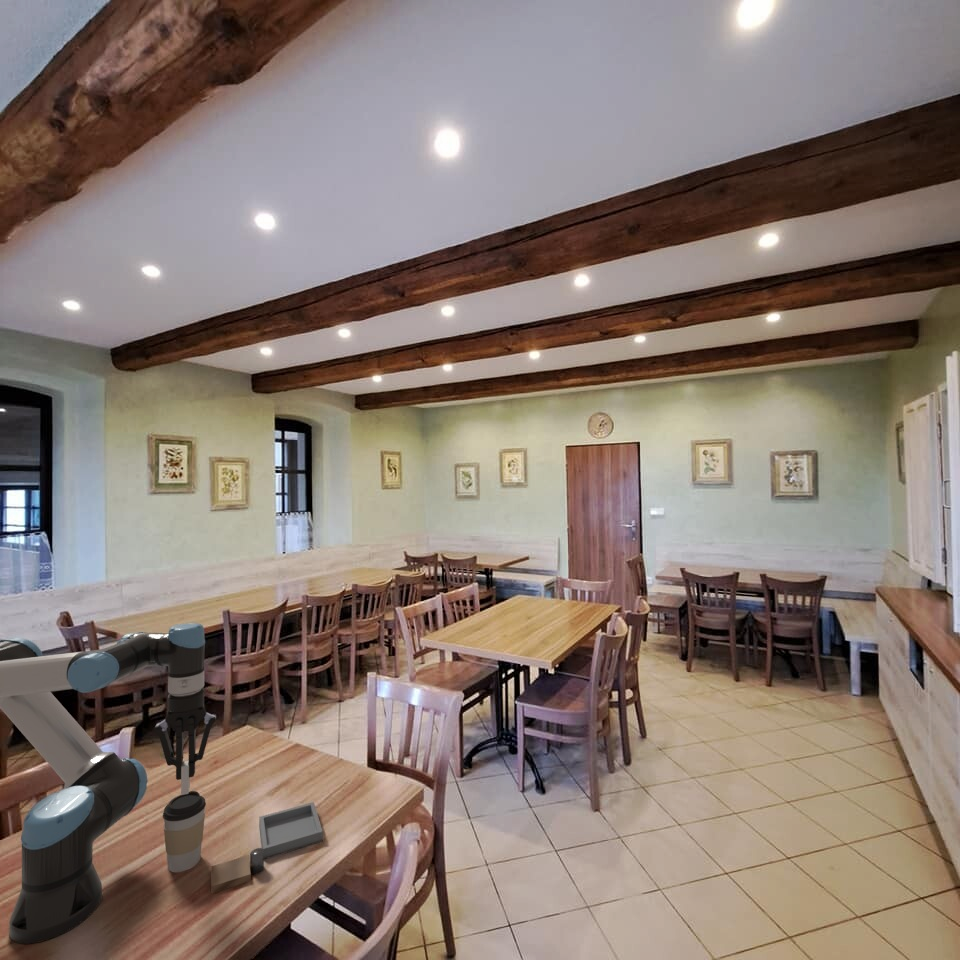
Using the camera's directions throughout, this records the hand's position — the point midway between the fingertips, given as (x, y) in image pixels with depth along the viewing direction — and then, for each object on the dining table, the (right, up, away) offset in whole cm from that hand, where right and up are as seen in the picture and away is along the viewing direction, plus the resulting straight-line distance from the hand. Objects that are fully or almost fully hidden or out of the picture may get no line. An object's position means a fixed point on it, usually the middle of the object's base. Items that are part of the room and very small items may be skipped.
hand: (185, 791), depth 121 cm
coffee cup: (-2, -19, +2) cm, 19 cm away
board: (+12, -19, -3) cm, 22 cm away
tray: (+20, -19, +12) cm, 30 cm away
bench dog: (+17, -18, -1) cm, 25 cm away
